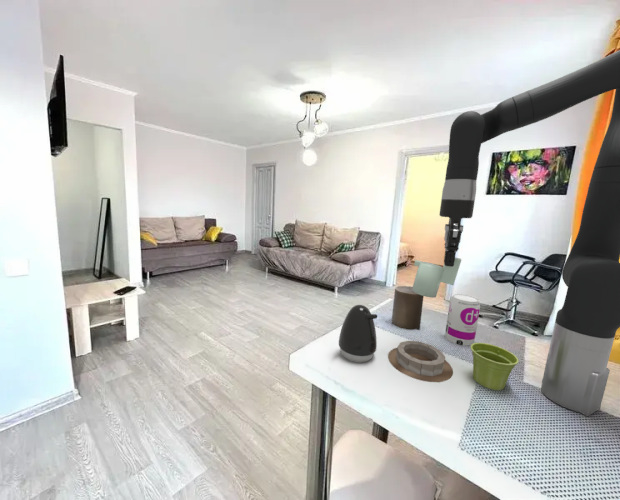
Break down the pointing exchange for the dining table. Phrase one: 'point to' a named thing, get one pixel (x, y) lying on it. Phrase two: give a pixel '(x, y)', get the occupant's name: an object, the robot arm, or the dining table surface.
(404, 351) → the stone ring brown dish
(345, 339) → the dark rounded figure
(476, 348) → the plant pot
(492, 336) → the dining table surface
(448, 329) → the supplement can
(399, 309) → the pillar candle
